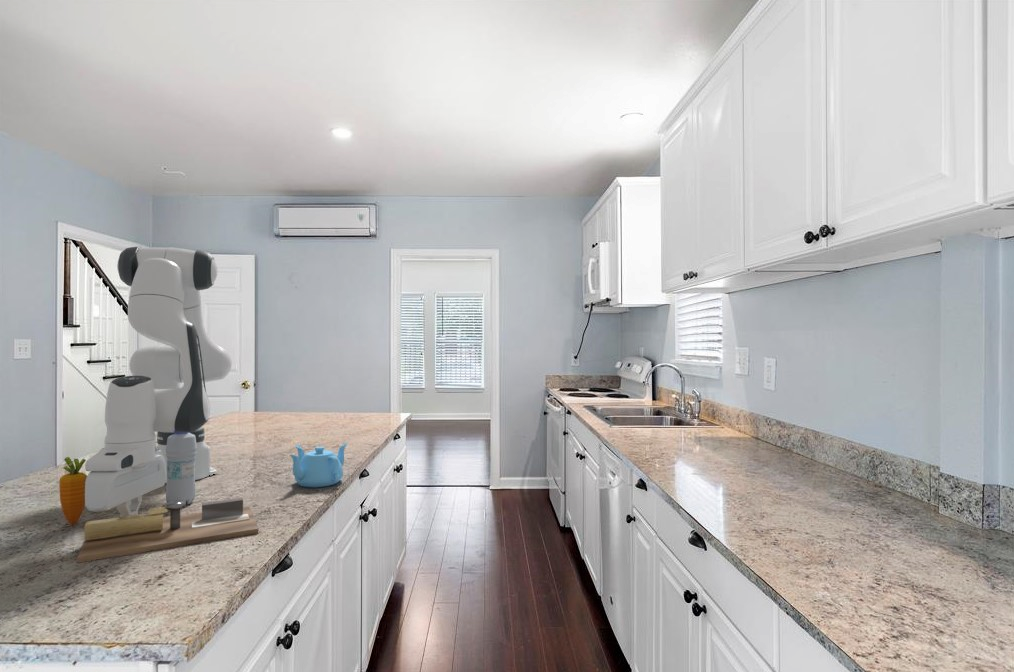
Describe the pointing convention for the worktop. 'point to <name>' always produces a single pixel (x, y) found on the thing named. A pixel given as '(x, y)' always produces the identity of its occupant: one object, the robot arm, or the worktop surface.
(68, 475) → the carrot
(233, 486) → the worktop surface
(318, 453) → the teapot
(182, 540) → the latch board
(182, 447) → the bottle
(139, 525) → the swing bar
